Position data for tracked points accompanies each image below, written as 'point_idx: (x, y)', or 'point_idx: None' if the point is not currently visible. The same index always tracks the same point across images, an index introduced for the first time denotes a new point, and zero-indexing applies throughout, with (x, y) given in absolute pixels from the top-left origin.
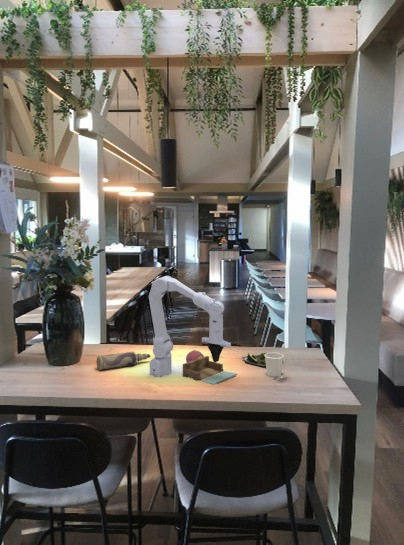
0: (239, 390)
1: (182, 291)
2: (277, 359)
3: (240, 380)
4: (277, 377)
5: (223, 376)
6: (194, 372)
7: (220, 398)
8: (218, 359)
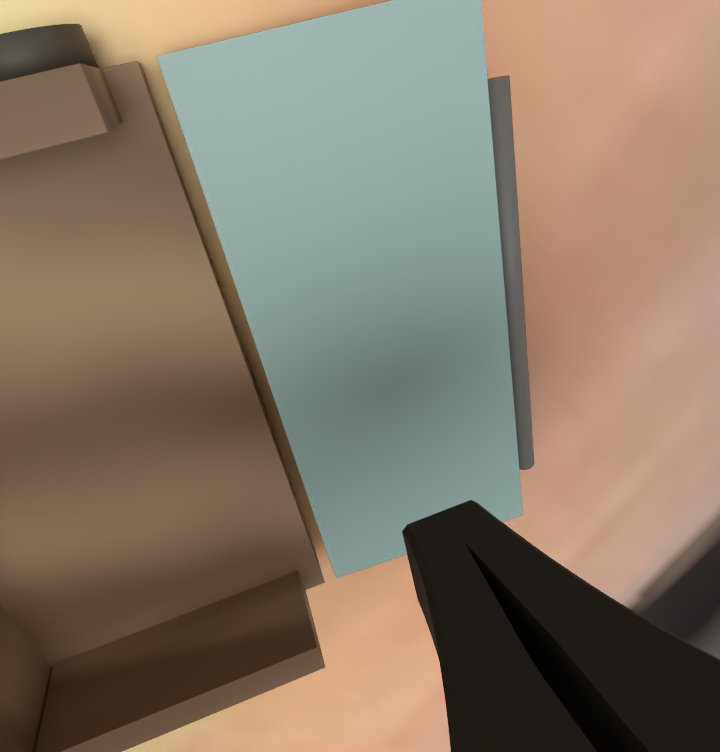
0: (713, 289)
1: None
2: None
3: (544, 31)
4: None
5: (408, 282)
6: (248, 694)
7: (676, 516)
8: (503, 535)
